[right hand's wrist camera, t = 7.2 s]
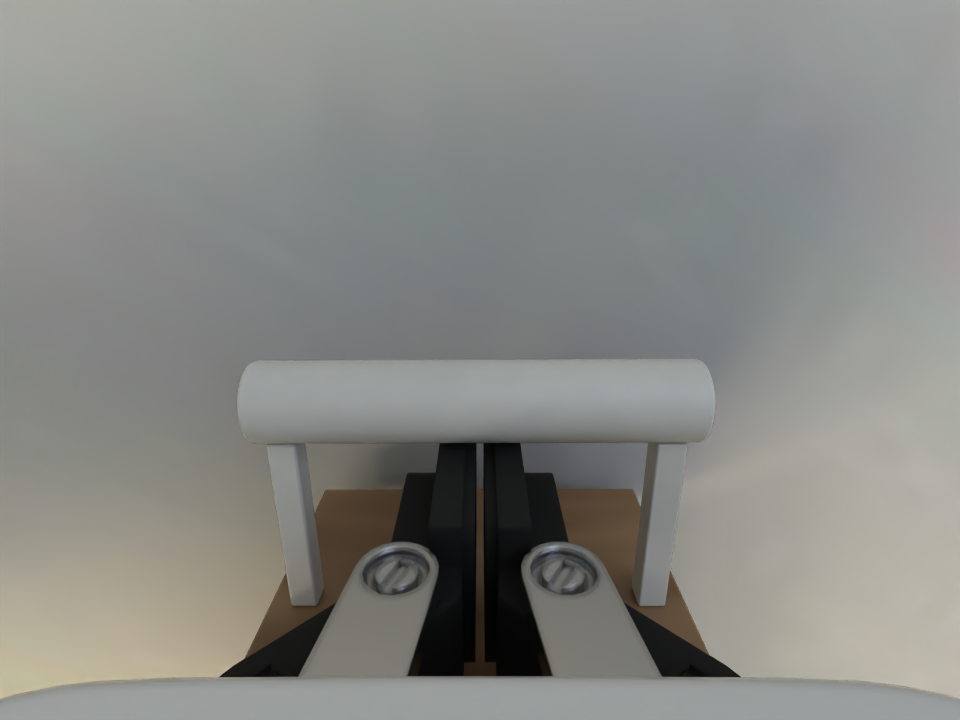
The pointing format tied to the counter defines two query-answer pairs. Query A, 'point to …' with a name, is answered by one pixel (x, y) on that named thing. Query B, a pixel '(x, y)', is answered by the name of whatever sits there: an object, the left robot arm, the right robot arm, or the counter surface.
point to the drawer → (476, 419)
